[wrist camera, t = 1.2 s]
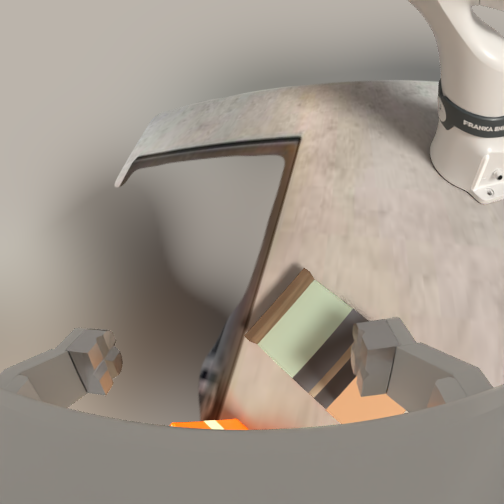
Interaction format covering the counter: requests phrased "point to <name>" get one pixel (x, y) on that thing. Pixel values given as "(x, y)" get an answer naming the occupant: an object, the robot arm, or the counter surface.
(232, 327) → the counter surface
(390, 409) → the block
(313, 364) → the board
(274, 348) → the pad
